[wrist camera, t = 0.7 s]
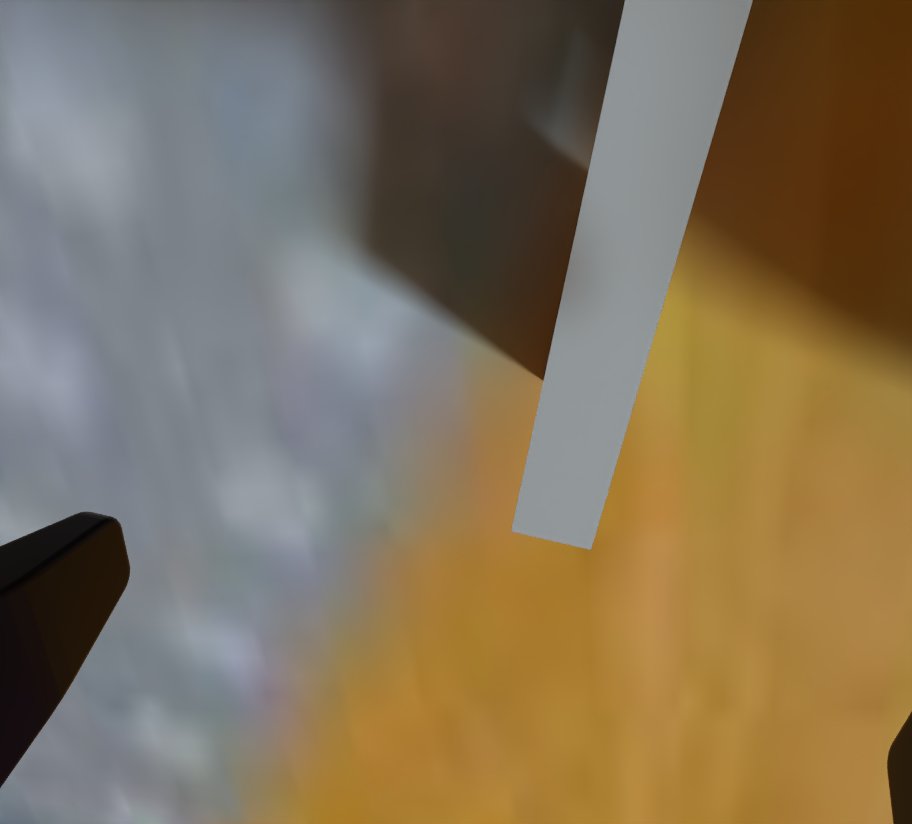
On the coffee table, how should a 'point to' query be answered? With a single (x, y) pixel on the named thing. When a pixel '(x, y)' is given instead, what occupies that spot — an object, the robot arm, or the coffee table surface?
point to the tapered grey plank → (625, 251)
